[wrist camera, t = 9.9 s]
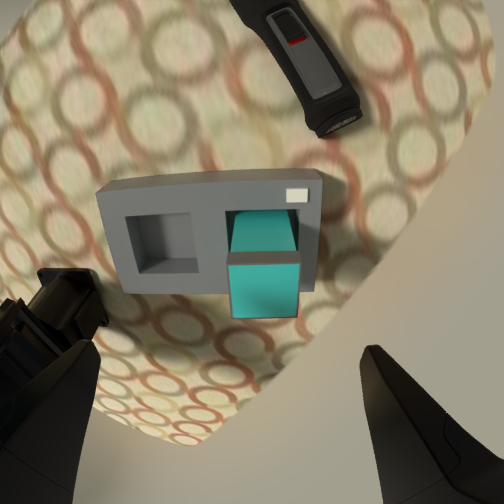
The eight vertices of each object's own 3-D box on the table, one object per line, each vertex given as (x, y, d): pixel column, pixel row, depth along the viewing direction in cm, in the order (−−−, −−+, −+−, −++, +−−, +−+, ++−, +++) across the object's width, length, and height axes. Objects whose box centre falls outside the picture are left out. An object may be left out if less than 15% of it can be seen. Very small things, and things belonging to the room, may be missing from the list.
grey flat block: (134, 274, 23) (122, 295, 21) (111, 180, 19) (94, 194, 17) (308, 271, 23) (314, 293, 20) (314, 168, 19) (323, 180, 16)
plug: (238, 250, 21) (231, 318, 15) (235, 205, 19) (225, 263, 13) (286, 249, 21) (297, 317, 15) (287, 204, 19) (301, 262, 13)
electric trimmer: (241, -63, 10) (238, -84, 8) (362, 116, 17) (380, 122, 14) (191, -40, 11) (180, -58, 9) (313, 140, 18) (323, 149, 15)
